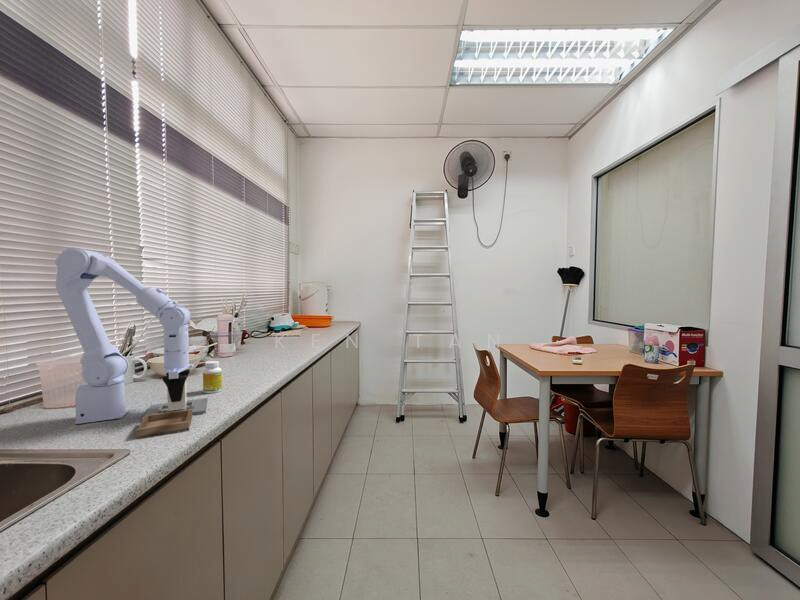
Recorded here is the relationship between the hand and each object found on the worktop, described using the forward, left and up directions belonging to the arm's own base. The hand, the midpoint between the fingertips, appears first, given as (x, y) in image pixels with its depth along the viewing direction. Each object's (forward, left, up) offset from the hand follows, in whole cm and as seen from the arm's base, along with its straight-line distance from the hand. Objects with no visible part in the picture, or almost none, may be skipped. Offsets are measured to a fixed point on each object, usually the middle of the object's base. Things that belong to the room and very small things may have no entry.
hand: (177, 399), depth 95 cm
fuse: (0, 0, -2) cm, 2 cm away
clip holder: (0, 0, -3) cm, 3 cm away
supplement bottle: (+8, +16, -3) cm, 19 cm away
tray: (-1, -12, -3) cm, 12 cm away
